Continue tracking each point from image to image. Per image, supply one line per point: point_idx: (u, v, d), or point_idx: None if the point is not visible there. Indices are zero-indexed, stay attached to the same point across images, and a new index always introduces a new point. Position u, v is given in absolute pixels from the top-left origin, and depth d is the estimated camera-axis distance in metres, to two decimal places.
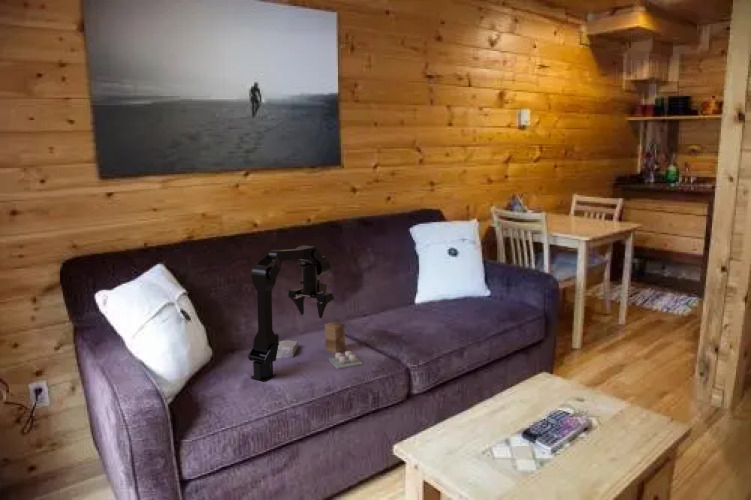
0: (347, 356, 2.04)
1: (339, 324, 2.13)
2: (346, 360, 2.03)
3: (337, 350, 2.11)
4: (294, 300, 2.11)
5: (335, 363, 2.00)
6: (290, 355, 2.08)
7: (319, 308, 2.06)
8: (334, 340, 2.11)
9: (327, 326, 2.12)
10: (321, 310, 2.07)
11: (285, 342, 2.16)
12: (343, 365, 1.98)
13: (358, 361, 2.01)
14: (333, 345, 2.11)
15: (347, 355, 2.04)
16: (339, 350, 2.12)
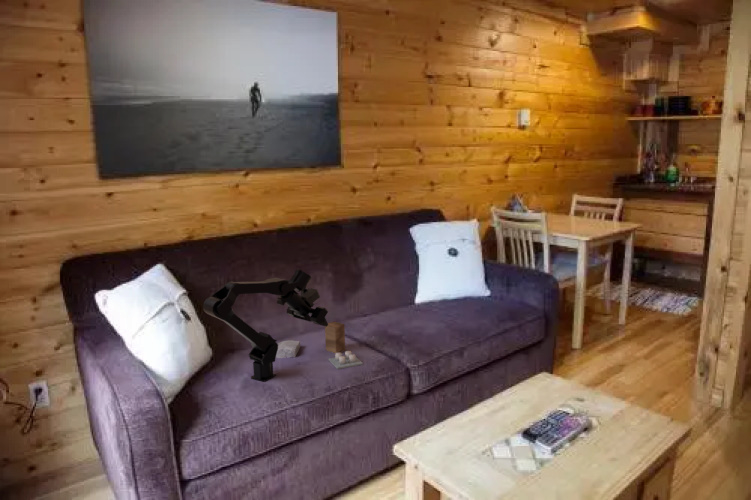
0: (347, 356, 2.04)
1: (339, 324, 2.13)
2: (346, 360, 2.03)
3: (337, 350, 2.11)
4: (295, 317, 2.06)
5: (335, 363, 2.00)
6: (293, 355, 2.08)
7: (319, 324, 1.99)
8: (334, 340, 2.11)
9: (327, 326, 2.12)
10: (322, 323, 2.00)
11: (287, 342, 2.16)
12: (343, 365, 1.98)
13: (358, 361, 2.01)
14: (333, 345, 2.11)
15: (347, 355, 2.04)
16: (339, 350, 2.12)
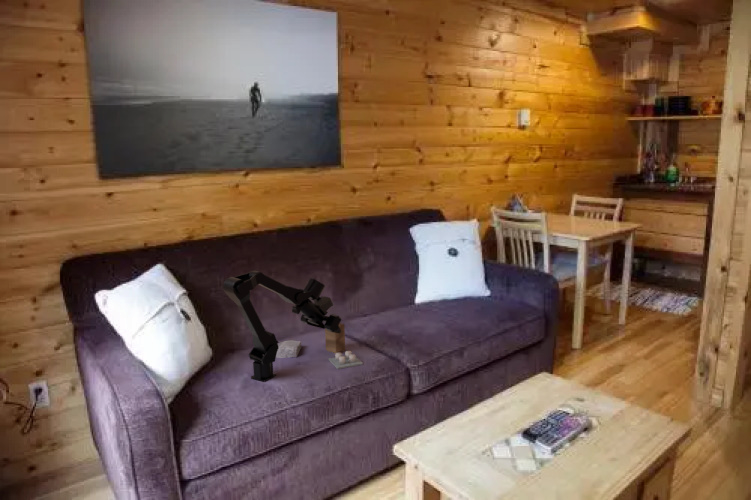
0: (347, 356, 2.04)
1: (339, 324, 2.13)
2: (346, 360, 2.03)
3: (337, 350, 2.11)
4: None
5: (335, 363, 2.00)
6: (294, 355, 2.08)
7: None
8: (334, 340, 2.11)
9: None
10: (336, 330, 2.06)
11: (288, 342, 2.16)
12: (343, 365, 1.98)
13: (358, 361, 2.01)
14: (333, 345, 2.11)
15: (347, 355, 2.04)
16: (339, 350, 2.12)
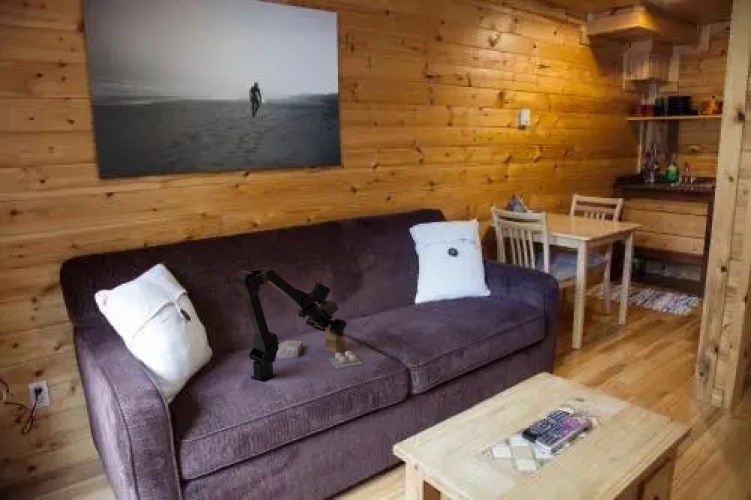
0: (347, 356, 2.04)
1: None
2: (346, 360, 2.03)
3: (337, 350, 2.11)
4: (317, 329, 2.13)
5: (335, 363, 2.00)
6: (295, 355, 2.08)
7: None
8: (334, 340, 2.11)
9: None
10: None
11: (290, 342, 2.16)
12: (343, 365, 1.98)
13: (358, 361, 2.01)
14: (333, 345, 2.11)
15: (347, 355, 2.04)
16: (339, 350, 2.12)
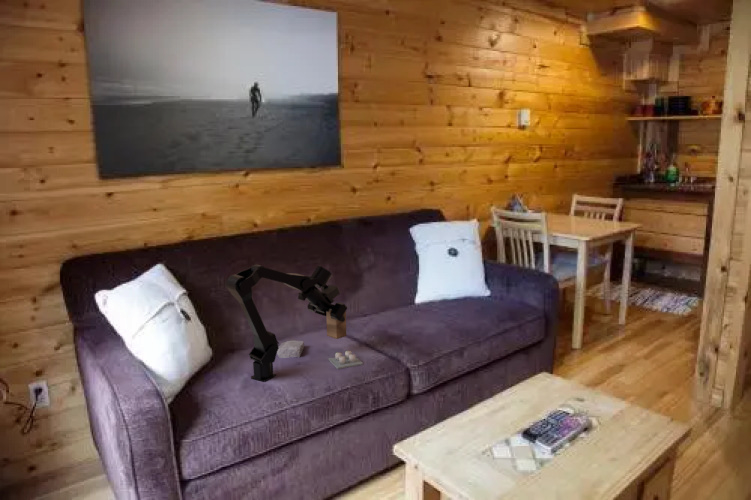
0: (347, 356, 2.04)
1: None
2: (346, 360, 2.03)
3: (337, 335, 2.08)
4: None
5: (335, 363, 2.00)
6: (297, 355, 2.08)
7: None
8: (335, 325, 2.08)
9: None
10: (340, 318, 2.06)
11: (291, 342, 2.16)
12: (343, 365, 1.98)
13: (358, 361, 2.01)
14: (334, 330, 2.08)
15: (347, 355, 2.04)
16: (340, 335, 2.09)
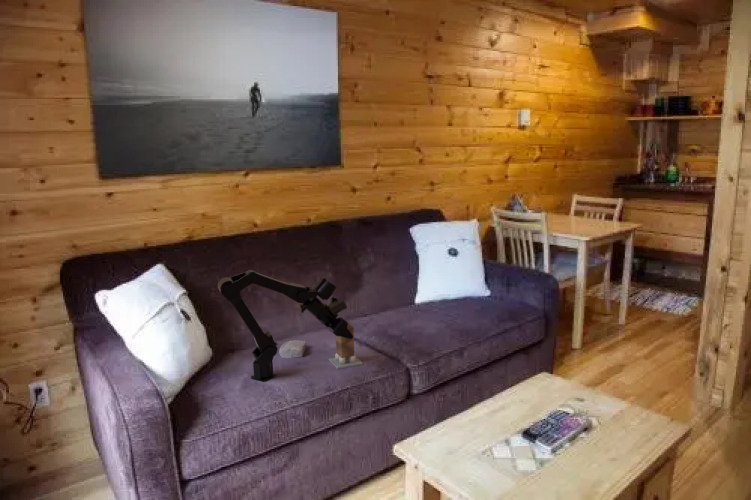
0: None
1: (348, 327, 1.99)
2: (346, 360, 2.03)
3: (343, 354, 1.98)
4: None
5: (335, 363, 2.00)
6: (299, 355, 2.08)
7: None
8: (340, 343, 1.98)
9: None
10: (345, 335, 1.94)
11: (293, 342, 2.16)
12: (343, 365, 1.98)
13: (358, 361, 2.01)
14: (340, 348, 1.99)
15: None
16: (346, 354, 1.99)
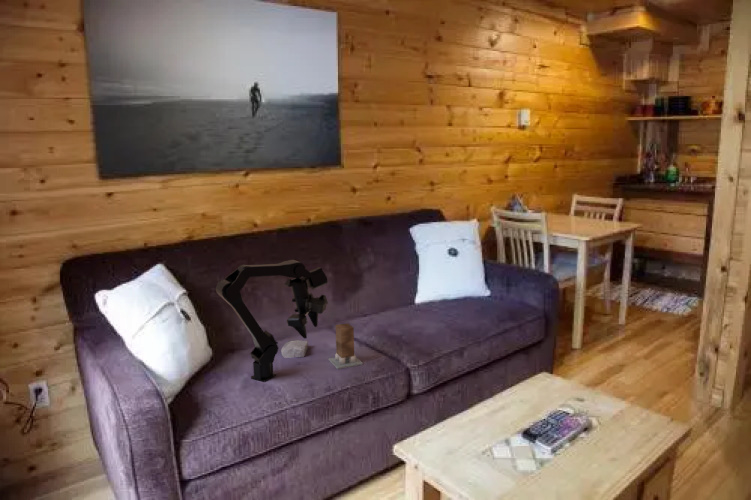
0: None
1: (348, 327, 1.99)
2: (346, 360, 2.03)
3: (343, 354, 1.98)
4: None
5: (335, 363, 2.00)
6: (302, 355, 2.08)
7: None
8: (340, 343, 1.98)
9: (336, 327, 2.00)
10: (299, 331, 1.93)
11: (295, 342, 2.16)
12: (343, 365, 1.98)
13: (358, 361, 2.01)
14: (340, 348, 1.99)
15: None
16: (346, 354, 1.99)
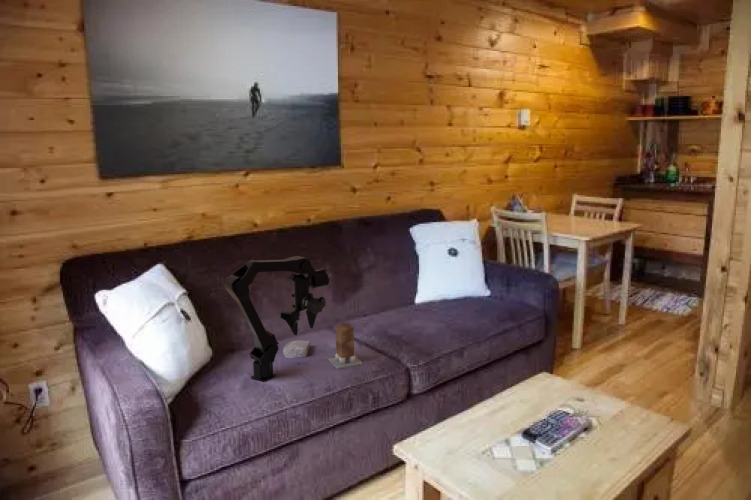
0: None
1: (348, 327, 1.99)
2: (346, 360, 2.03)
3: (343, 354, 1.98)
4: None
5: (335, 363, 2.00)
6: (304, 355, 2.08)
7: None
8: (340, 343, 1.98)
9: (336, 327, 2.00)
10: (291, 326, 1.93)
11: (297, 342, 2.16)
12: (343, 365, 1.98)
13: (358, 361, 2.01)
14: (340, 348, 1.99)
15: None
16: (346, 354, 1.99)
